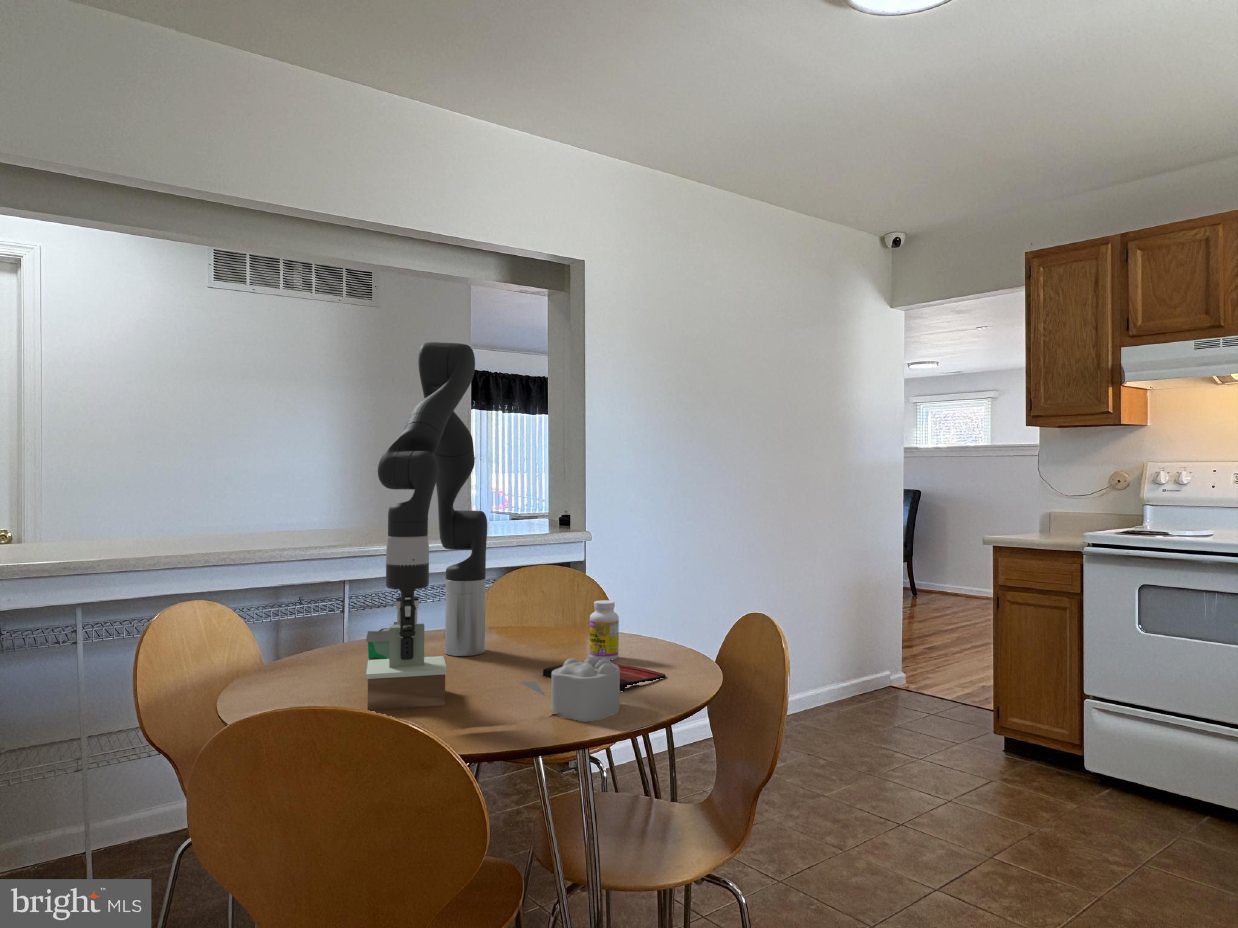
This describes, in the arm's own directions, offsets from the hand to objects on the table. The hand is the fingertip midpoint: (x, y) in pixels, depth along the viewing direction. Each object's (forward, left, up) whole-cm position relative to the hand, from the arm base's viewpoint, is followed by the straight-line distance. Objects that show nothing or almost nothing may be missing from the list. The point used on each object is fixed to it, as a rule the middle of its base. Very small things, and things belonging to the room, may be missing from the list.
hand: (406, 656), depth 146 cm
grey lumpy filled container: (+12, +31, -9) cm, 34 cm away
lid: (0, 0, -3) cm, 3 cm away
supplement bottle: (-28, +44, -9) cm, 53 cm away
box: (0, 0, -9) cm, 9 cm away
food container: (-23, -2, -9) cm, 25 cm away
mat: (-2, +18, -9) cm, 20 cm away
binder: (-11, +40, -9) cm, 43 cm away
